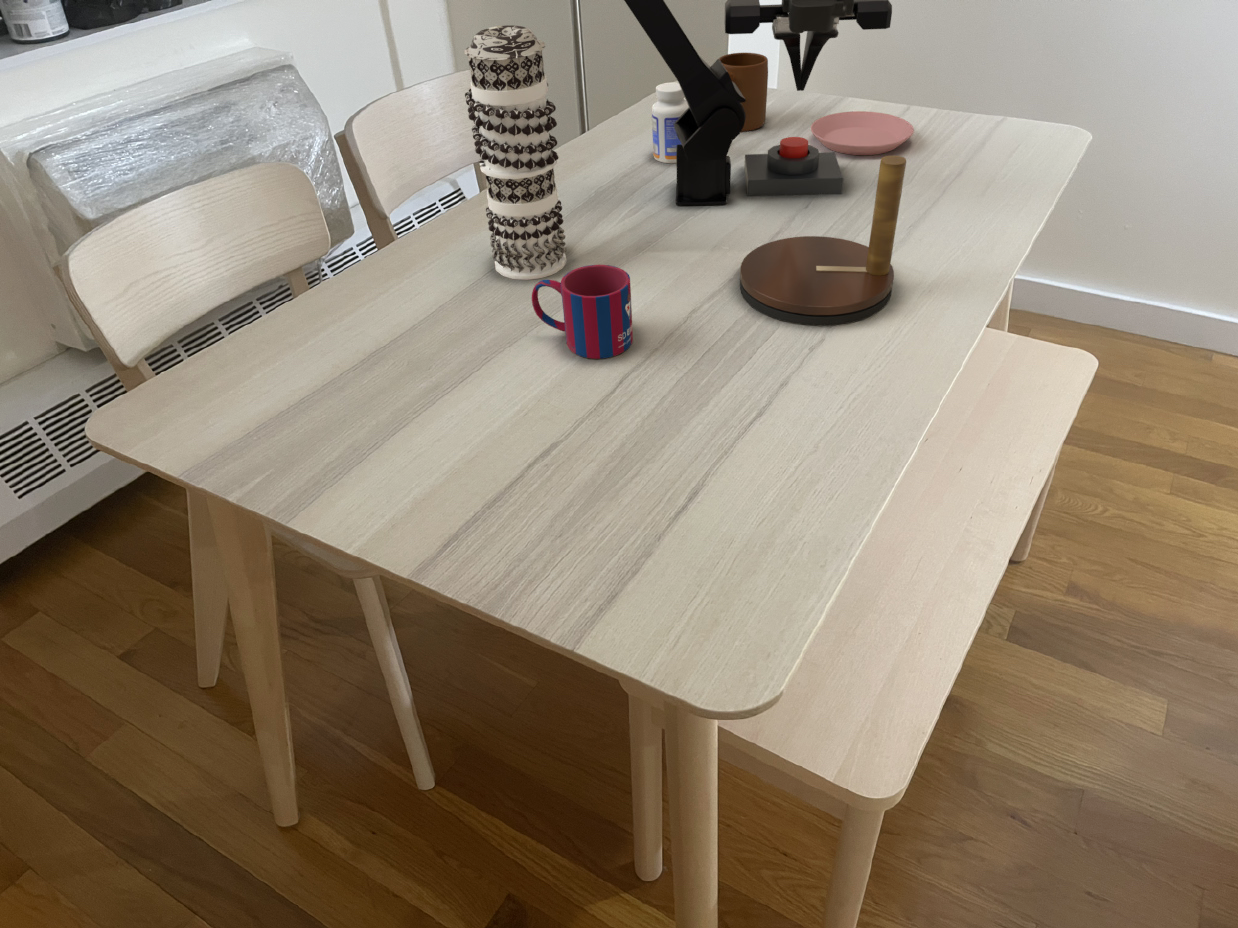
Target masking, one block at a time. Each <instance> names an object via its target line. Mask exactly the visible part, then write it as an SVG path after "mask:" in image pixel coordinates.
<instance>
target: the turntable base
mask: <svg viewBox="0 0 1238 928" xmlns="http://www.w3.org/2000/svg"><path fill="white" fill-rule="evenodd" d="M739 291H740V294H741V296H742V299H743V300H744V301H745V302H746V303H747V304H748V305H749V306H750V307H751V308H753V309H754V310H756V311H757V312H759V313H761V314H762V315H764V316H766V317H770V318H772V319H775V320H778V321H781V322H785V323H789V324H795V325H801V326H802V325H803V326H815V327H816V326H817V327H828V326H829V327H830V326H837V325H838V326H839V325H846V324H851V323H855V322H860V321H863V320H865V319H867V318H870V317H872V316H874V315H876V314H878V313H879V312H880V311H882V310H883V309H884V308H885V307H886V306H887V305H888V303H889V302H890V299H891V297H892V292H893V288H892V289H891V290H890V292H889V294H888V295H887V296H886V297H885V298H884V299H882V300H881V301H880V302H878V303H876V304H875V305H873V306H870V307H868V308H866V309H862V310H859V311H855V312H851V313H845V314H838V315H806V314H799V313H793V312H788V311H784V310H780V309H776V308H774V307H771V306H768V305H766V304H764V303H762V302H760V301H758V300H757V299H755V298H754V297H752V296H751V295H750V294H749V293H748V292H747V291H746V290H745V289H744V287H743V285H742V283H741V280H740V279H739Z"/></svg>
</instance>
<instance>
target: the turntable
mask: <svg viewBox="0 0 1238 928" xmlns="http://www.w3.org/2000/svg"><path fill="white" fill-rule="evenodd" d="M879 162H880V163H879V168H878V169H879V170H878V175H877V177H878V178H877V184H876V191H875V198H874V199H875V200H874V206H873V213H872V219H871V220H872V221H871V227H870V236H869V242H868V246H867V245H865V244H862V243H859V242H856V241H852V240H848V239H844V238H839V237H831V236H819V235H818V236H817V235H807V236H806V235H805V236H793V237H786V238H781V239H776V240H772V241H770V242H767V243H764V244H762V245H760V246H758V247H756V248H754V249H752V250H751V251H750V252H748V254H747V255H746V256H745V257H744V258H743V259H742V262H741V264H740V269H739V270H740V271H739V272H740V273H739V281H740V280H741V283H742V285H743V287H744V289H745V290H746V291H747V292H748V293H749V294H750V295H751V296H752V297H754V298H755V299H757V300H758V301H760V302H762V303H764V304H766V305H768V306H771V307H774V308H776V309H780V310H784V311H788V312H793V313H799V314H806V315H838V314H845V313H851V312H855V311H859V310H862V309H866V308H868V307H870V306H873V305H875V304H876V303H878V302H880V301H881V300H882V299H884V298H885V297H886V296H887V295H888V294H889V292H890V290H891V289H892V290H893V286H894V279H895V271H894V267H893V265H892V256H893V249H894V243H895V237H896V230H897V223H898V217H899V210H900V206H901V205H900V204H901V197H902V193H903V185H904V179H905V172H906V166H907V159H906V158H905V157H903V156H900V155H891V154H890V155H884V156H883V157H881V158H880V161H879Z"/></svg>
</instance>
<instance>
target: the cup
mask: <svg viewBox="0 0 1238 928" xmlns="http://www.w3.org/2000/svg"><path fill="white" fill-rule="evenodd" d="M543 287H547V288H551V289H553V290H555V291H556V292H557V293H559V294H560V295H561V301H562V311H563V321H559V320H557V319H555V318H553V317H551V316H549V315H548V314H547V313H546V312H545V311H544V310H543V309H542V307H541V305H540V301H539V290H540V288H543ZM631 288H632V287H631V276H630V274H629V273H628V272H627V271H625V270H624V269H622V268H620V267H618V266H615V265H610V264H589V265H584V266H580V267H577V268H574V269H572V270H570V271H568V272H567V273H565V274H564V275H563V276H562V278H561V280H560V281H558V280H554V279H541V280H539V281H538V282H537V283H535V284H534V287H533V288H532V293H531V304H532V308H533V311H534V313H535V315H536V316H537V317H538V318H539V320H540V321H542V322H543V323H544V324H546V325H547V326H549V327H551V328H552V329H555V330H558V331H560V332H564V333H565V342H566V346H567V348H568V350H569V351H571V352H572V353H573V354H574V355H576V356H579V357H581V358H585V359H591V360H592V359H593V360H594V359H596V360H598V359H599V360H600V359H608V358H612V357H616V356H618V355H622V353H624V352H626V351H627V350H628V349H629V348H630V347H631V346H632V344H633V341H634V334H633V333H634V332H633V330H634V329H633V311H632V310H633V309H632V292H631V291H632V289H631Z"/></svg>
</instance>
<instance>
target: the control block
mask: <svg viewBox="0 0 1238 928" xmlns="http://www.w3.org/2000/svg"><path fill="white" fill-rule="evenodd" d="M779 152H780V144H777V145H774V146H772V147H770V148H769V149H768V150H767V153H758V154H757V153H754V154H750V153H749V154H744V168H743V171H744V179H745V186H746V196H747V197H774V196H775V197H777V196H779V197H780V196H781V197H782V196H819V195H820V196H821V195H822V196H823V195H842V194H843V185H844V176H843V173H842V170H841V167H840V164H839V160H838V158H837V156H836V153H835V152H836V151H827V152H825V151H823V152H820V151H819V149H818V148H817V147H815V146H813V145H811V144H808V153H807V156H806V157H802V158H786V157H782V156H780V155H779Z"/></svg>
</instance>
